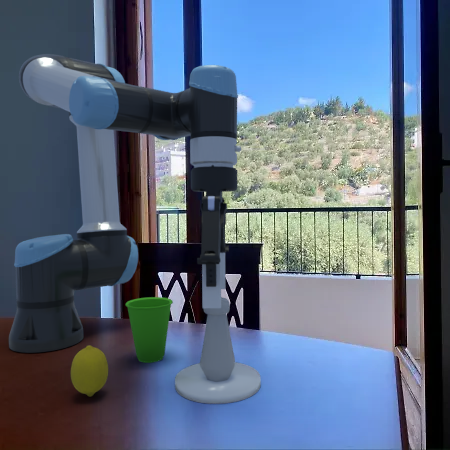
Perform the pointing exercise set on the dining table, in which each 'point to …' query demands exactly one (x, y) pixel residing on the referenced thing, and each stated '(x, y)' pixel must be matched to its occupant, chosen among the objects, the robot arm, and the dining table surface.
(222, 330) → the salt shaker
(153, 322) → the cup
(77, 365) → the lemon
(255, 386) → the ceramic plate
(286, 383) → the dining table surface
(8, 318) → the dining table surface
